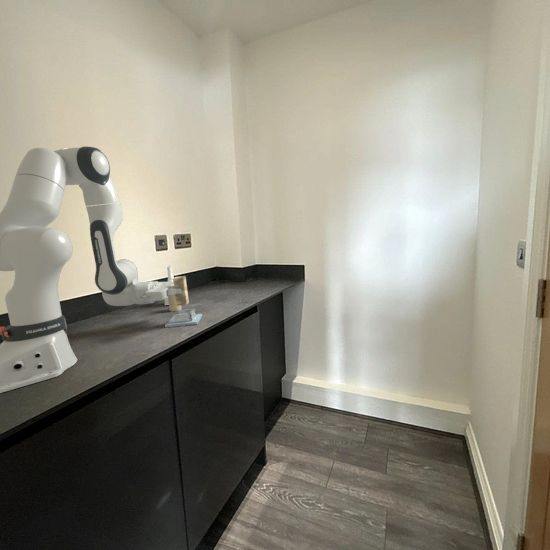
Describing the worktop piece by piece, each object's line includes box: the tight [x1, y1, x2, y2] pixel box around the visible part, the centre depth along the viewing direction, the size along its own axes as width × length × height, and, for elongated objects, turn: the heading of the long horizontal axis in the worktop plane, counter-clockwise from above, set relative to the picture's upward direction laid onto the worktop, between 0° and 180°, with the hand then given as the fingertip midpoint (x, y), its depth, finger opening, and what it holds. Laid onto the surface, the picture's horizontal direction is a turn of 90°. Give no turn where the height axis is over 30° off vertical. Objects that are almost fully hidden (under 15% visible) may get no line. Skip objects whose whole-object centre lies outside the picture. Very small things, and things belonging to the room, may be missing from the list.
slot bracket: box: [173, 308, 197, 323], centre depth 118 cm, size 8×7×3 cm
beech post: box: [173, 275, 190, 306], centre depth 117 cm, size 4×4×11 cm
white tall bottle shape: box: [164, 265, 175, 306], centre depth 151 cm, size 10×9×20 cm
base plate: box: [164, 313, 203, 328], centre depth 118 cm, size 12×12×1 cm
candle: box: [168, 294, 183, 312], centre depth 139 cm, size 6×6×10 cm
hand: (183, 289), depth 117 cm, fingers closed on beech post, 4 cm apart
